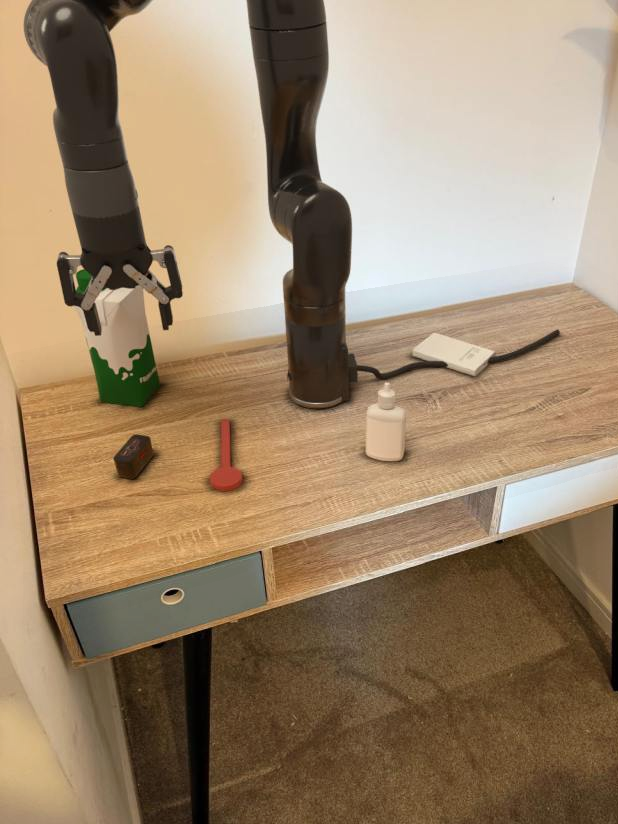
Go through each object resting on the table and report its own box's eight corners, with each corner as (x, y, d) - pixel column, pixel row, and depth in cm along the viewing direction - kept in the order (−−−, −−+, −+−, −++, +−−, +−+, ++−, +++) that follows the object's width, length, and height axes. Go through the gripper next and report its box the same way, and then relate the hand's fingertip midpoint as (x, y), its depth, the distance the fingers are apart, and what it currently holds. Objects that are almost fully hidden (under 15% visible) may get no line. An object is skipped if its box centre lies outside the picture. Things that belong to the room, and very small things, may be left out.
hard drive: (434, 339, 137) (495, 358, 132) (411, 357, 131) (474, 377, 126) (434, 331, 135) (496, 350, 131) (412, 349, 130) (475, 369, 125)
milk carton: (118, 376, 124) (89, 259, 111) (168, 383, 123) (146, 266, 110) (92, 404, 117) (59, 283, 104) (145, 411, 116) (118, 290, 103)
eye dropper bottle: (389, 469, 106) (392, 397, 98) (360, 453, 109) (361, 382, 101) (408, 455, 109) (413, 385, 101) (380, 440, 112) (382, 370, 104)
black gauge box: (158, 451, 108) (154, 433, 106) (135, 481, 103) (130, 462, 101) (129, 447, 109) (124, 428, 107) (104, 475, 104) (99, 457, 101)
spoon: (240, 422, 114) (239, 417, 114) (242, 489, 102) (242, 484, 101) (211, 424, 114) (210, 419, 113) (210, 492, 101) (209, 487, 101)
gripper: (36, 218, 82) (73, 349, 93) (167, 210, 85) (189, 339, 95) (43, 195, 88) (78, 322, 98) (167, 189, 90) (187, 313, 101)
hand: (132, 330), depth 97 cm, fingers open, 8 cm apart
